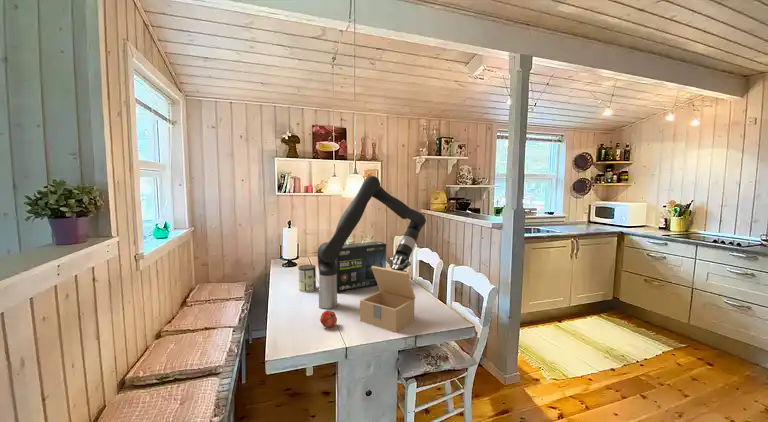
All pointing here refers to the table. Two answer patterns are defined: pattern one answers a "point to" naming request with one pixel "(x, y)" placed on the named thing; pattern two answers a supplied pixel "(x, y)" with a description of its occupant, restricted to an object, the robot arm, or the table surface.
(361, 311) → the cardboard box
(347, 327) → the table surface
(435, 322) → the table surface
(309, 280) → the coffee can
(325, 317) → the pomegranate
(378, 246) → the router box
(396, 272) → the box lid
